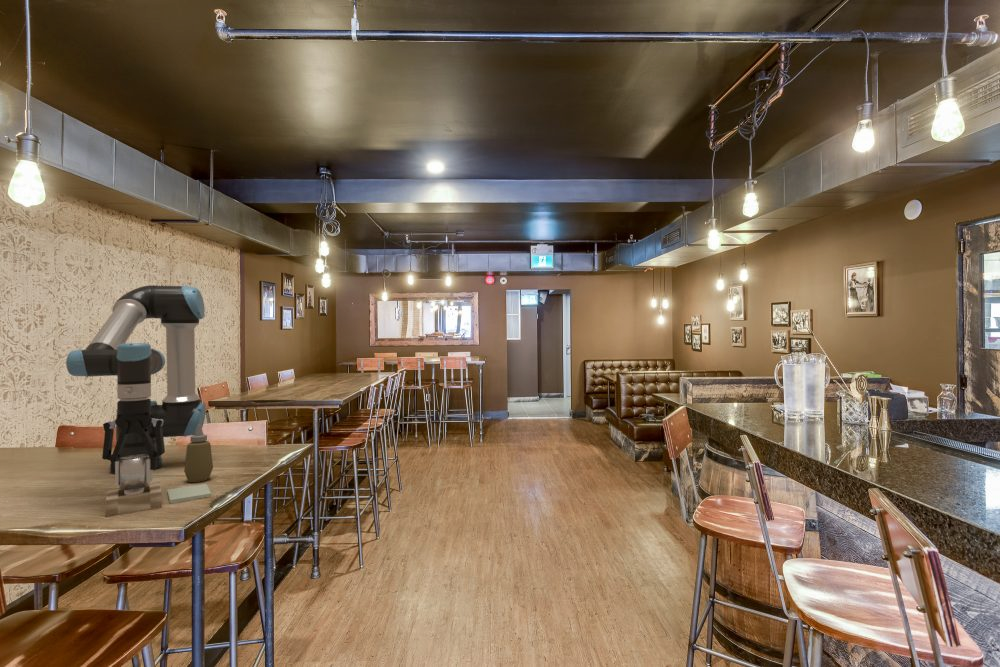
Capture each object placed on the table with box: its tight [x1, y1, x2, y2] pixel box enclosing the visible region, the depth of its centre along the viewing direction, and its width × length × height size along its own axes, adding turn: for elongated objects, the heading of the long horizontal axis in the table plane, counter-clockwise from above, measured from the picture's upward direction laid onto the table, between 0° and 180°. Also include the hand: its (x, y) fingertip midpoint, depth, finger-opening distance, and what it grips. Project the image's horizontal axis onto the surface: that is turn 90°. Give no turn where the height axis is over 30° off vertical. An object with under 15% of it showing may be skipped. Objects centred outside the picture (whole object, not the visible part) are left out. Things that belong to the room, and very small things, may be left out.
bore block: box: [105, 481, 163, 517], centre depth 138 cm, size 12×12×4 cm
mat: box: [166, 483, 212, 504], centre depth 147 cm, size 12×10×1 cm
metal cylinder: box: [119, 455, 150, 496], centre depth 138 cm, size 6×6×13 cm
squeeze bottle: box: [183, 424, 214, 483], centre depth 162 cm, size 8×8×18 cm
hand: (134, 482), depth 138 cm, fingers closed on metal cylinder, 6 cm apart
